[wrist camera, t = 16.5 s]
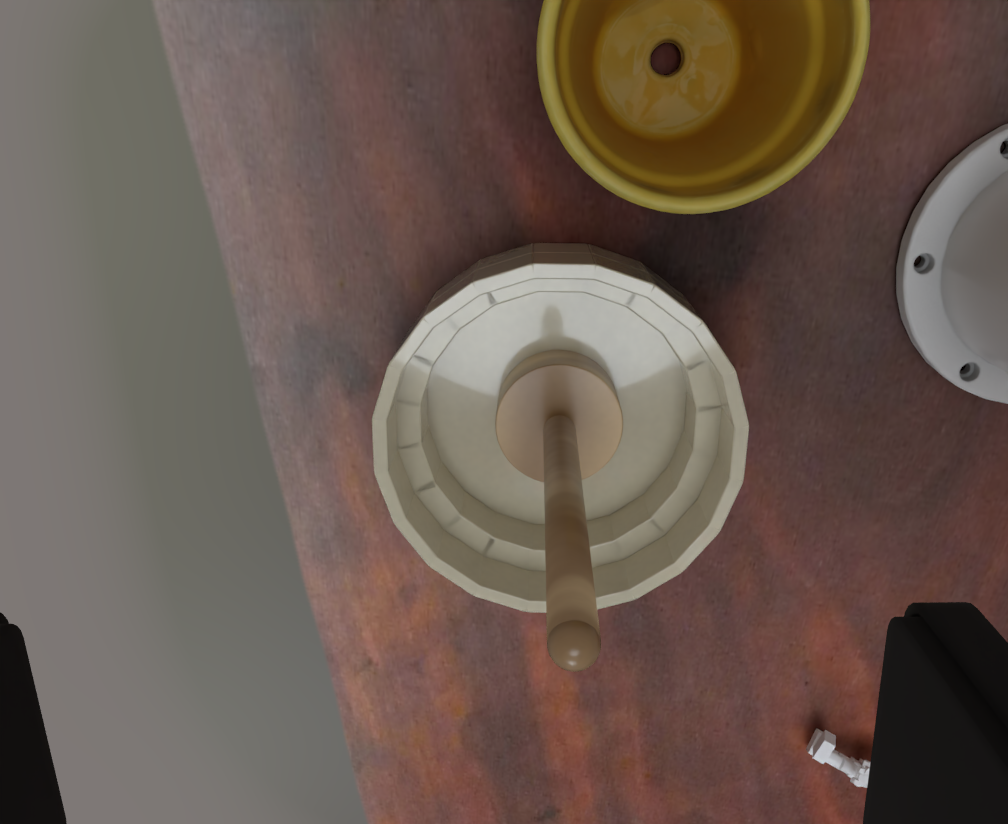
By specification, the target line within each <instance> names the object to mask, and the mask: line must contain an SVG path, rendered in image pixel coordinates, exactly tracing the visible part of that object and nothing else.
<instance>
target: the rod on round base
mask: <svg viewBox="0 0 1008 824" xmlns="http://www.w3.org/2000/svg"><path fill="white" fill-rule="evenodd" d="M495 429H496V436H497V440H498V443H499V446H500V448H501V450H502V452H503V454H504V455H505V457H506V458H507V460H508V461H509V462H510V463H511V464H512V465H513V466H514V467H515V468H516V469H517V470H518V471H520V472H521V473H523V474H524V475H526V476H528V477H530V478H532V479H534V480H537V481H540V482H544V505H545V560H546V615H547V648H548V652H549V655H550V657H551V658H552V660H553V661H554V663H555V664H556V665H558V666H559V667H561V668H562V669H564V670H567V671H573V672H576V671H582V670H585V669H587V668H588V667H590V666H591V665H592V664H593V663H594V662H595V661H596V659H597V658H598V656H599V653H600V649H601V638H600V630H599V621H598V613H597V605H596V596H595V588H594V579H593V571H592V563H591V554H590V546H589V537H588V529H587V521H586V512H585V504H584V495H583V487H582V480H583V479H586V478H588V477H590V476H592V475H593V474H595V473H597V472H598V471H599V470H601V469H602V468H603V467H604V466H605V465H606V464H607V463H608V462H609V461H610V459H611V458H612V457H613V455H614V454H615V452H616V450H617V448H618V446H619V444H620V441H621V437H622V432H623V415H622V410H621V406H620V403H619V399H618V395H617V392H616V389H615V386H614V384H613V382H612V380H611V378H610V377H609V375H608V374H607V372H606V371H605V370H604V369H603V368H602V367H601V366H600V365H599V364H598V363H597V362H595V361H594V360H592V359H591V358H589V357H587V356H585V355H583V354H580V353H577V352H573V351H568V350H549V351H543V352H540V353H537V354H534V355H532V356H530V357H528V358H526V359H525V360H523V361H522V362H520V363H519V364H518V365H517V366H516V367H515V368H514V369H513V370H512V371H511V372H510V373H509V375H508V376H507V377H506V379H505V381H504V383H503V385H502V387H501V390H500V393H499V397H498V404H497V411H496V420H495Z"/></svg>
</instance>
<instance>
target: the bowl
mask: <svg viewBox="0 0 1008 824" xmlns="http://www.w3.org/2000/svg"><path fill="white" fill-rule="evenodd" d="M549 350H568V351H573V352H577V353H580V354H583V355H585V356H587V357H589V358H591V359H592V360H594V361H595V362H597V363H598V364H599V365H600V366H601V367H602V368H603V369H604V370H605V371H606V372H607V374H608V375H609V377H610V378H611V380H612V382H613V384H614V386H615V389H616V392H617V395H618V399H619V403H620V406H621V410H622V415H623V432H622V437H621V441H620V444H619V446H618V448H617V450H616V452H615V454H614V455H613V457H612V458H611V459H610V461H609V462H608V463H607V464H606V465H605V466H604V467H603V468H602V469H601V470H599V471H598V472H597V473H595V474H593V475H592V476H590V477H588V478H586V479H583V480H582V487H583V495H584V504H585V512H586V521H587V529H588V537H589V546H590V554H591V563H592V571H593V579H594V588H595V596H596V605H597V609H601V608H605V607H609V606H613V605H617V604H621V603H625V602H629V601H633V600H635V599H638V598H639V597H641V596H643V595H644V594H646V593H648V592H649V591H651V590H653V589H655V588H656V587H658V586H660V585H661V584H663V583H665V582H666V581H668V580H670V579H672V578H673V577H675V576H677V575H678V574H680V573H682V571H684V570H685V569H686V568H687V567H688V566H689V565H690V564H691V563H692V562H693V561H694V559H695V558H696V557H697V556H698V555H699V554H700V553H701V552H702V551H703V550H704V549H705V548H706V546H707V545H708V544H709V543H710V542H711V541H712V540H713V539H714V538H715V537H716V536H717V535H718V533H719V532H720V530H721V529H722V527H723V525H724V522H725V520H726V518H727V516H728V514H729V512H730V509H731V507H732V505H733V503H734V501H735V499H736V496H737V494H738V492H739V490H740V488H741V486H742V483H743V480H744V473H745V463H746V454H747V444H748V434H749V422H748V418H747V413H746V409H745V405H744V401H743V397H742V393H741V389H740V385H739V381H738V376H737V372H736V371H735V368H734V367H733V365H732V364H731V362H730V360H729V359H728V357H727V356H726V354H725V353H724V351H723V350H722V348H721V347H720V345H719V344H718V342H717V341H716V339H715V338H714V336H713V335H712V333H711V332H710V330H709V329H708V327H707V326H706V324H705V323H704V321H703V320H702V319H701V317H700V316H699V315H698V313H697V312H696V311H695V310H694V308H693V307H692V306H691V305H690V303H689V302H688V301H687V299H686V298H685V297H684V296H683V295H682V293H681V292H679V291H678V290H677V289H675V288H674V287H673V286H671V285H670V284H669V283H668V282H666V281H665V280H664V279H662V278H661V277H660V276H658V275H657V274H656V273H655V272H653V271H652V270H651V269H649V268H648V267H647V266H645V265H644V264H643V263H641V262H639V261H637V260H634V259H632V258H629V257H626V256H623V255H620V254H617V253H614V252H611V251H608V250H605V249H602V248H600V247H597V246H594V245H591V244H580V243H533V244H528V245H525V246H522V247H518V248H515V249H512V250H509V251H506V252H502V253H499V254H496V255H493V256H490V257H486V258H483V259H481V260H479V261H478V262H476V263H475V264H473V265H472V266H471V267H469V268H468V269H466V270H465V271H464V272H462V273H461V274H459V275H458V276H457V277H455V278H454V279H452V280H451V281H450V282H448V283H447V284H445V285H444V286H443V287H441V288H440V289H438V291H436V292H435V294H434V295H433V297H432V298H431V299H430V301H429V302H428V304H427V305H426V306H425V308H424V309H423V310H422V312H421V313H420V315H419V316H418V317H417V319H416V320H415V322H414V323H413V324H412V326H411V327H410V329H409V330H408V331H407V333H406V335H405V336H404V338H403V340H402V342H401V343H400V345H399V347H398V349H397V350H396V352H395V354H394V355H393V357H392V359H391V361H390V362H389V364H388V366H387V370H386V373H385V376H384V380H383V383H382V386H381V389H380V393H379V396H378V399H377V403H376V406H375V409H374V413H373V416H372V437H373V460H374V473H375V477H376V479H377V482H378V484H379V487H380V490H381V492H382V495H383V497H384V500H385V502H386V505H387V508H388V510H389V513H390V515H391V518H392V520H393V523H395V526H396V527H397V528H398V529H399V531H400V532H401V533H402V534H403V535H404V537H405V538H406V539H407V540H408V542H409V543H410V544H411V545H412V546H413V548H414V549H415V550H416V551H417V552H418V554H419V555H420V556H421V557H422V559H423V560H424V561H425V562H426V563H427V565H429V567H431V568H432V569H434V570H435V571H437V572H438V573H440V574H441V575H443V576H444V577H446V578H447V579H449V580H450V581H452V582H453V583H455V584H456V585H458V586H459V587H461V588H462V589H464V590H465V591H467V592H468V593H470V594H471V595H474V596H476V597H479V598H482V599H485V600H489V601H492V602H495V603H498V604H502V605H505V606H508V607H511V608H514V609H518V610H521V611H524V612H526V611H527V612H542V613H546V560H545V505H544V482H540V481H537V480H534V479H532V478H530V477H528V476H526V475H524V474H523V473H521V472H520V471H518V470H517V469H516V468H515V467H514V466H513V465H512V464H511V463H510V462H509V461H508V460H507V458H506V457H505V455H504V454H503V452H502V450H501V448H500V446H499V443H498V440H497V436H496V429H495V420H496V411H497V404H498V397H499V393H500V390H501V387H502V385H503V383H504V381H505V379H506V377H507V376H508V375H509V373H510V372H511V371H512V370H513V369H514V368H515V367H516V366H517V365H518V364H519V363H520V362H522V361H523V360H525V359H526V358H528V357H530V356H532V355H534V354H537V353H540V352H543V351H549Z"/></svg>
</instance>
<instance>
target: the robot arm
mask: <svg viewBox="0 0 1008 824" xmlns="http://www.w3.org/2000/svg"><path fill="white" fill-rule="evenodd" d="M1003 141H1004V142H1005V144H1006V148H1005V150H1004V151H1003V152H1002V153H1000V147H1001V145H1002V142H1003ZM919 255H920V257H921V262H920V263H919V264H918V265H917V266H914V261H915V259H916V258H917V257H918V256H919ZM896 296H897V301H898V306H899V311H900V315H901V320H902V322H903V324H904V327H905V329H906V331H907V333H908V336H909V338H910V340H911V342H912V344H913V345H914V346H915V348H916V349H917V350H918V352H919V353H920V355H921V356H922V357H923V359H924V360H925V361H926V362H927V363H928V364H929V365H930V366H931V367H932V368H934V369H935V370H936V371H937V372H938V373H939V374H940V375H942V376H943V377H944V378H945V379H947V380H948V381H950V382H951V383H953V384H954V385H956V386H957V387H959V388H961V389H963V390H965V391H967V392H970V393H972V394H975V395H977V396H979V397H982V398H984V399H987V400H992V401H997V402H1002V403H1006V404H1008V124H1005V125H1002V126H1000V127H998V128H997V129H995V130H993V131H992V132H990V133H988V134H986V135H985V136H983V137H981V138H980V139H978V140H976V141H975V142H973V143H972V144H971V145H969V146H968V147H967V148H966V149H965V150H963V151H962V152H961V153H960V154H959V155H957V156H956V157H955V158H954V159H953V160H951V161H950V162H949V163H948V164H947V165H946V166H945V168H944V169H943V170H942V171H941V172H940V173H939V175H938V176H937V177H936V178H935V179H934V180H933V181H932V183H931V184H930V185H929V186H928V188H927V189H926V191H925V193H924V194H923V196H922V198H921V199H920V201H919V202H918V204H917V206H916V207H915V209H914V211H913V212H912V215H911V217H910V220H909V222H908V225H907V227H906V230H905V232H904V235H903V238H902V241H901V246H900V251H899V256H898V261H897V266H896ZM965 364H966V367H965V369H964V370H963V371H960V370H961V368H962V367H963V366H964V365H965ZM0 824H66V817H65V812H64V808H63V804H62V799H61V796H60V791H59V786H58V782H57V778H56V774H55V770H54V765H53V761H52V757H51V753H50V748H49V744H48V740H47V736H46V731H45V727H44V723H43V719H42V714H41V710H40V706H39V702H38V698H37V693H36V689H35V685H34V680H33V676H32V672H31V667H30V663H29V659H28V655H27V651H26V646H25V642H24V638H23V635H22V632H21V630H20V629H19V628H18V626H16V625H14V624H9V623H8V620H7V619H6V617H5V616H4V615H3V614H2V613H0ZM863 824H1008V643H1007V642H1006V640H1005V639H1004V638H1003V637H1002V636H1001V635H1000V634H999V633H998V631H997V630H996V629H995V628H994V627H993V626H992V625H991V623H990V622H989V621H988V620H987V619H986V618H985V617H984V616H983V614H982V613H981V612H980V611H979V610H978V609H977V608H976V607H975V606H974V605H972V604H971V603H966V602H948V603H912V604H911V605H909V606H908V608H907V610H906V612H905V615H904V617H894V618H892V619H891V621H890V623H889V625H888V630H887V637H886V645H885V653H884V661H883V668H882V676H881V684H880V692H879V700H878V708H877V716H876V723H875V731H874V739H873V747H872V755H871V763H870V770H869V778H868V786H867V794H866V802H865V810H864V817H863Z"/></svg>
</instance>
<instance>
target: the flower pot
mask: <svg viewBox="0 0 1008 824" xmlns="http://www.w3.org/2000/svg"><path fill="white" fill-rule="evenodd" d="M869 40H870V5H869V0H544V2H543V5H542V9H541V14H540V19H539V26H538V34H537V70H538V80H539V86H540V90H541V94H542V98H543V102H544V105H545V108H546V111H547V114H548V117H549V119H550V122H551V124H552V126H553V128H554V130H555V132H556V134H557V135H558V137H559V139H560V141H561V142H562V144H563V146H564V147H565V149H566V150H567V151H568V153H569V154H570V155H571V157H572V158H573V159H574V160H575V162H576V163H577V164H578V165H579V166H580V167H581V168H582V169H583V170H584V171H585V172H586V173H587V174H588V175H589V176H590V177H592V178H593V179H594V180H595V181H596V182H598V183H599V184H600V185H602V186H603V187H604V188H606V189H607V190H609V191H611V192H612V193H614V194H616V195H617V196H619V197H621V198H623V199H625V200H627V201H629V202H632V203H634V204H637V205H640V206H643V207H646V208H650V209H654V210H658V211H662V212H669V213H679V214H700V213H710V212H716V211H722V210H727V209H731V208H734V207H737V206H740V205H743V204H746V203H749V202H751V201H754V200H756V199H758V198H760V197H762V196H764V195H766V194H768V193H770V192H771V191H773V190H775V189H776V188H778V187H780V186H781V185H783V184H784V183H785V182H787V181H788V180H790V179H791V178H793V177H794V176H795V175H796V174H798V173H799V172H800V171H801V170H802V169H803V168H804V167H805V166H807V165H808V164H809V163H810V162H811V161H812V160H813V159H814V158H815V157H816V156H817V155H818V154H819V153H820V152H821V150H822V149H823V148H824V147H825V145H826V144H827V143H828V142H829V140H830V139H831V138H832V136H833V135H834V134H835V132H836V131H837V129H838V128H839V126H840V125H841V123H842V121H843V119H844V118H845V116H846V114H847V112H848V110H849V108H850V106H851V104H852V102H853V100H854V97H855V95H856V93H857V90H858V88H859V85H860V82H861V78H862V75H863V72H864V68H865V63H866V59H867V54H868V48H869ZM663 43H673V44H674V45H676V46H677V47H678V49H679V50H680V53H681V63H680V65H679V67H678V69H677V70H676V71H675V72H673V73H672V74H669V75H660V74H658V73H656V72H655V71H654V70H653V69H652V66H651V62H650V61H651V54H652V52H653V51H654V49H655V48H656V47H657V46H659V45H660V44H663Z"/></svg>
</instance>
